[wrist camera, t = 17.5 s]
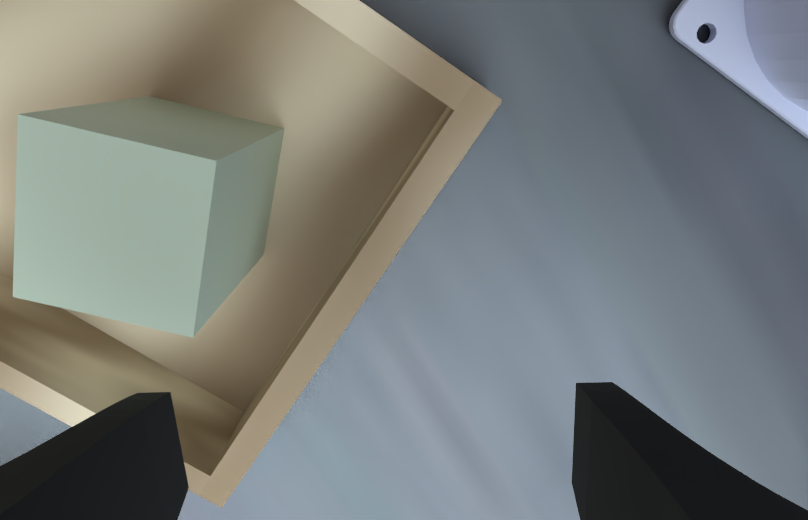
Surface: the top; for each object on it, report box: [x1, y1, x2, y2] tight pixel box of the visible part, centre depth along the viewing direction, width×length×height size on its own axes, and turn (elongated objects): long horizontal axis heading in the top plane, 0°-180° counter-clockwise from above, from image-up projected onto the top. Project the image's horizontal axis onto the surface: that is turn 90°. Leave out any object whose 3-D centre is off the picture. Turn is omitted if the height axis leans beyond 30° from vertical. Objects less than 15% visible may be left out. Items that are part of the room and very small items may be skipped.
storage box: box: [0, 0, 503, 508], centre depth 17 cm, size 16×14×4 cm
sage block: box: [13, 96, 285, 338], centre depth 16 cm, size 4×4×6 cm
